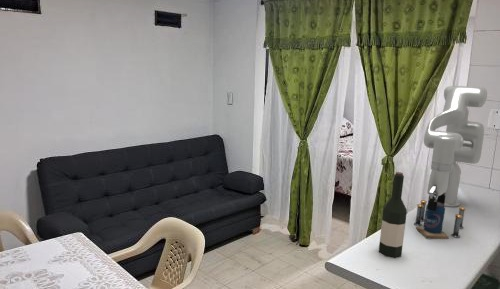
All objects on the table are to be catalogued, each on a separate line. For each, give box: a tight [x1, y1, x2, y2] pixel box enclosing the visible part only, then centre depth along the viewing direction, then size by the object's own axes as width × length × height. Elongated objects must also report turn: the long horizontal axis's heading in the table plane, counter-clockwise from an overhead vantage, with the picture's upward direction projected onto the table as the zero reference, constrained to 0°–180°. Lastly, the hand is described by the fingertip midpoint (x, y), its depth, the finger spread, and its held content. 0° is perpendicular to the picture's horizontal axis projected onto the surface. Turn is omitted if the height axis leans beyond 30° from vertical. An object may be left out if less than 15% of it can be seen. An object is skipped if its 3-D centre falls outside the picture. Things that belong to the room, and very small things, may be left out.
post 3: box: [450, 213, 462, 239], centre depth 153 cm, size 3×3×9 cm
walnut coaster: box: [415, 226, 450, 240], centre depth 155 cm, size 9×9×1 cm
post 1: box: [413, 203, 423, 227], centre depth 163 cm, size 3×3×9 cm
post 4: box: [458, 206, 466, 230], centre depth 162 cm, size 3×3×9 cm
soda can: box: [422, 201, 446, 234], centre depth 154 cm, size 7×7×12 cm
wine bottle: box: [378, 171, 408, 259], centre depth 135 cm, size 8×8×30 cm
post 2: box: [420, 199, 428, 223], centre depth 168 cm, size 3×3×9 cm
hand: (435, 206), depth 154 cm, fingers open, 9 cm apart
